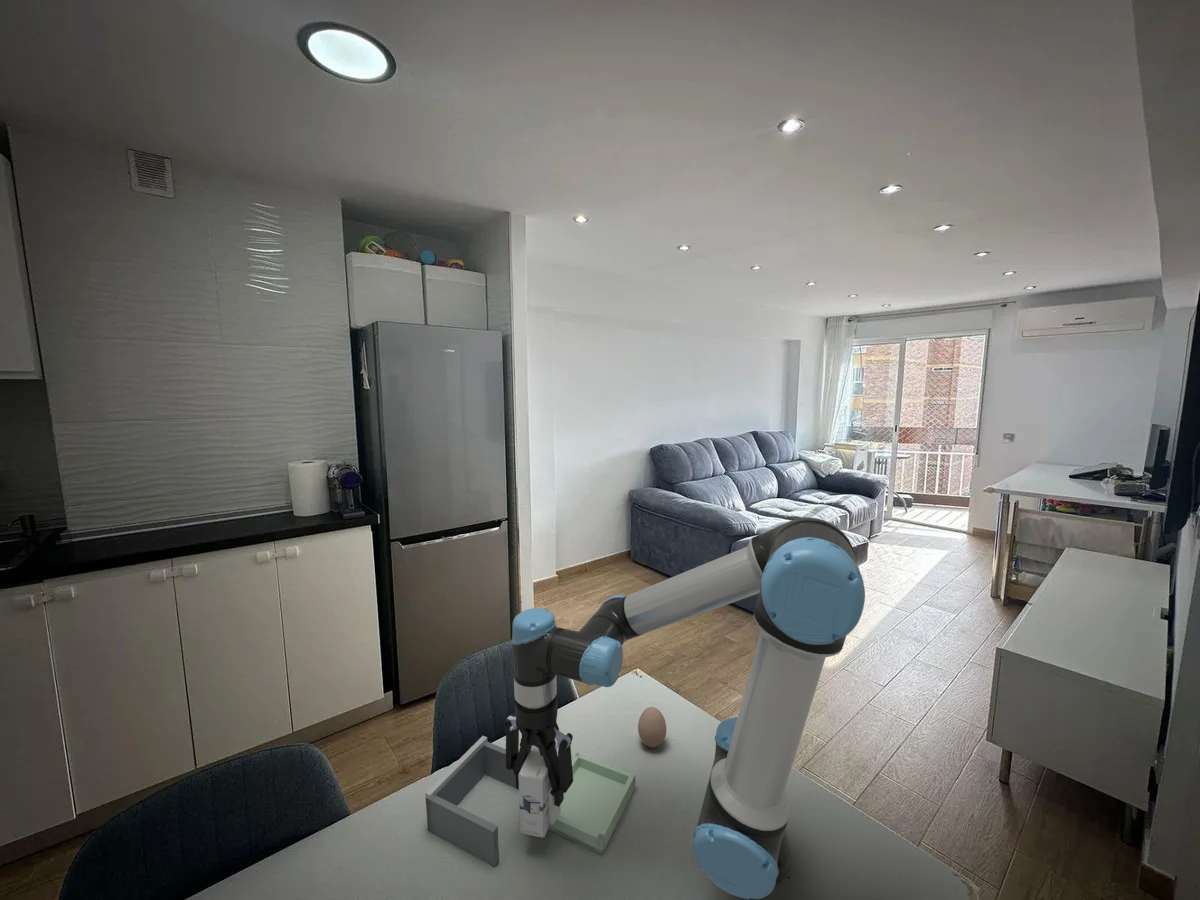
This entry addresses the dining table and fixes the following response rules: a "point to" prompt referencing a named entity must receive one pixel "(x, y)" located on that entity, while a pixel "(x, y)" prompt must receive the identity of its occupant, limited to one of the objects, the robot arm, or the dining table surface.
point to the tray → (593, 802)
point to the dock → (454, 787)
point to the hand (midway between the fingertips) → (540, 810)
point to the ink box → (534, 795)
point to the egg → (652, 727)
